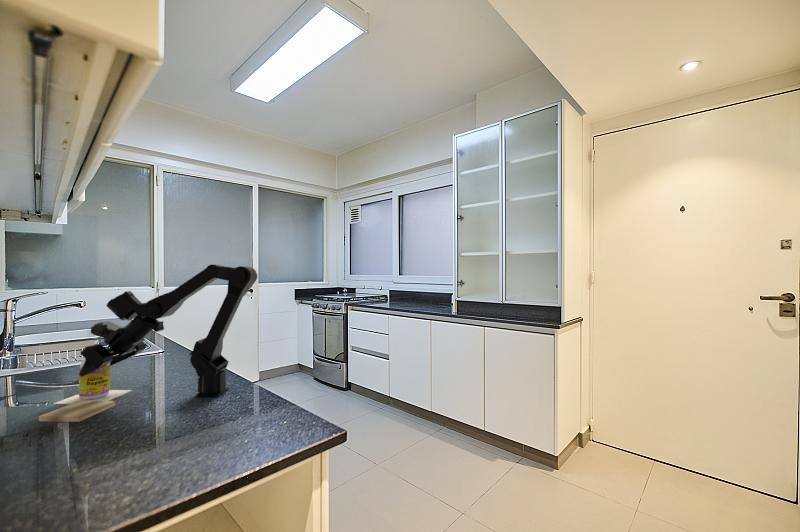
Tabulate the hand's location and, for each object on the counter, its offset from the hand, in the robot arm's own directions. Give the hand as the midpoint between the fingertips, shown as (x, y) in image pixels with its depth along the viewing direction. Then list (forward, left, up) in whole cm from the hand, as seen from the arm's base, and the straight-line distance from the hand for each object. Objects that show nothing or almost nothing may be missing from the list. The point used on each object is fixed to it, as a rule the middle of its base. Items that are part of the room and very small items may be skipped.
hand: (93, 370), depth 100 cm
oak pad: (-6, +11, -8) cm, 15 cm away
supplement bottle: (0, 0, -7) cm, 8 cm away
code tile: (0, 0, -8) cm, 8 cm away
